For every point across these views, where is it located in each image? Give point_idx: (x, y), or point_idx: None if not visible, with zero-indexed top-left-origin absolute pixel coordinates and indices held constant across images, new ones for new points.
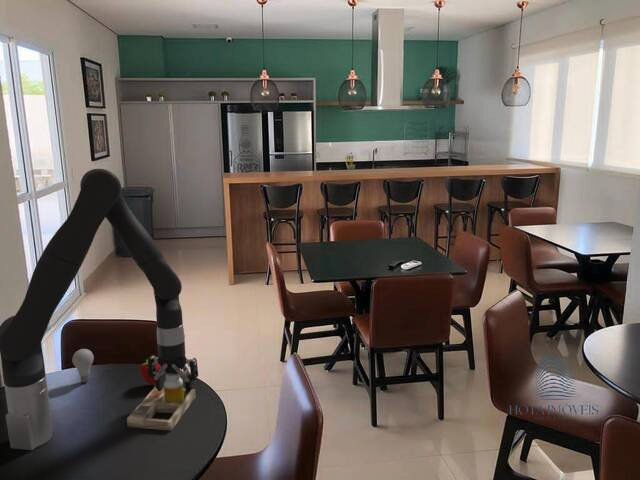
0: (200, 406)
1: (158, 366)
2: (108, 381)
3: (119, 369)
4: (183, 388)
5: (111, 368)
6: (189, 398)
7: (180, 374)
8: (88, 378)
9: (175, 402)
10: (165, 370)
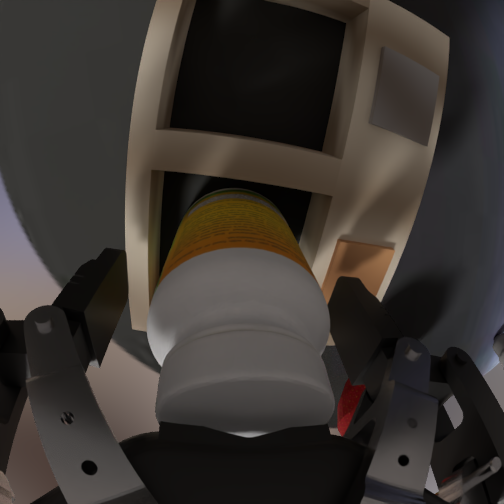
0: (84, 215)
1: None
2: None
3: None
4: None
5: None
6: (128, 245)
7: (71, 396)
8: (498, 343)
9: (209, 201)
10: (351, 456)
